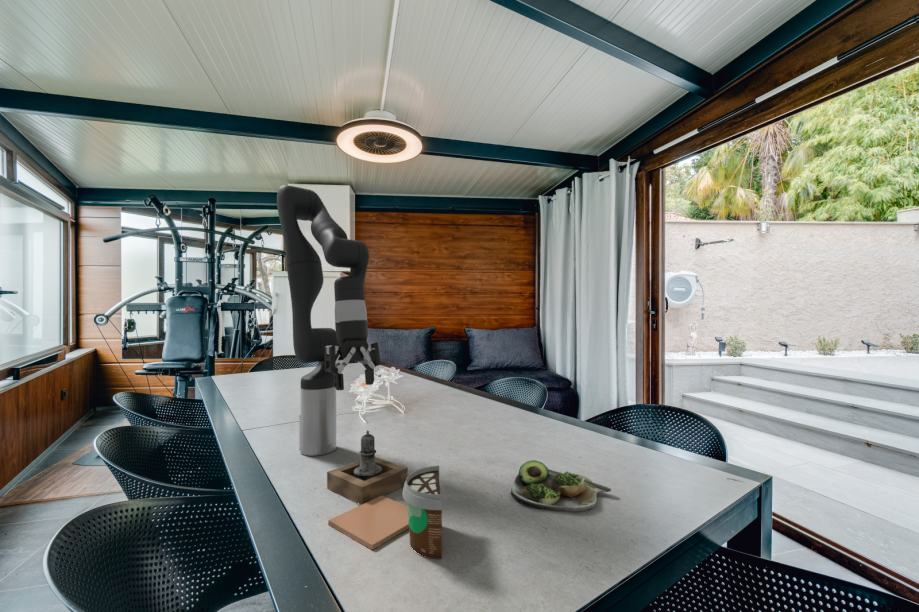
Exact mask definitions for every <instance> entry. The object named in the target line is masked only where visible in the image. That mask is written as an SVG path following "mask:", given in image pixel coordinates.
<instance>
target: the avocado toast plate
mask: <svg viewBox="0 0 919 612" xmlns="http://www.w3.org/2000/svg"><path fill="white" fill-rule="evenodd" d="M611 490H612V489H611V488H610V487H608V486H604V485H602V484H599V483H595V482H593V481H592V480H591V478H588V477H586V476H585V475H583V474H579V473H576V472H575V473H572V472H569V471H565V472H564V471H563V472H562V471H561V472H560V471H557V470H552V469H549V468H548V467H547V465H545V463H543V462H541V461H539V460H534V459H533V460H527V461H525V462H524V463H523V464H521V466H520V467H519V471H518V473H517V475H516V477H515V478H514V482H513V484H512V486H511V490H510V494H511V496H512V497H513V498H514V500H515V501H517V503H519V504H521V505H523V506H525V507H529V508H533V509H538V510H547V511H557V512H584V511H587V510H589V509H591V508H593V507H595V506H596V505H597V500H598V497H597V496H598V494H599V493H609V492H611ZM565 499H566V500H577V501H578V502H579V504H578V505H577V504H576V505H571V506H570V505H569V506H563V505H561V506H559V505H555V504H556V503H558V501H561V500H565Z"/></svg>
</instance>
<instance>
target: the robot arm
mask: <svg viewBox="0 0 919 612" xmlns="http://www.w3.org/2000/svg"><path fill="white" fill-rule="evenodd" d="M276 206H277V212H278V219H279V222H280V227H281V231H282V232H281V233H282V237H283V243H284V251H285V261H286V263H285V264H286V271H287V273H286V274H287V279H288V285H289V293H290V301H291V311H292V314H291V315H292V342H293V343H292V344H293V350H294V355H295V357H296V359H297V361H298V362H299V363H302V364H309V363H311V364H312V363H317V365H316V367H315V368H314V369H313V370H311V371H310V372H308V373H307V374H304V375H303V376H302V377H301V378H300V414H299V450H300V453H301V454H302V455H303V456H320V455H321V456H322V455H326V454H327V455H328V454H330V453H333V452H334V451H336V449H337V391H344V389H345V385H344V381H345V379H344V373H343V372H344V369H345V368H346V367H347V366H348V364H349V363H354V362H358V363H360V364H361V365H362V366H363V367H364V368H365V369H364V379H365V385H367V386H371V385H374V382H375V368H376V367H378V366H380V365H381V358H380V349H379V343H378V342H377V341H373V342H372V341H371V342H368V337H369V331H368V315H367V306H366V301H365V298H366V297H365V281H366V280H365V279H366V273H367V269H368V265H369V260H370V252H369V248H368V246H367V244H366V243H365V242H364V241H361V240H358V239H357V240H355V239H349V238H348V235H347V232H346V231H345V230H344V229H343V228H342V227H341V226H340V225H339V224H338V223H337V221H336V220H334V219H333V217H331V215H330V213H329V212H328V211H329V210H328V209H327V207H326V206H325V204H324V202H323V201H322V199H321V198H320V196H319V195H318V194H317V192H316V191H314V190H312V189H308V188H303V187H300V186H293V185H287V184H285V185H281V186H280V187H278V190H277V194H276ZM298 220H299V221H305V222H307V221H310V222H311V224H310V232H311V234H312V236H313V238H314V239H315V241H316V242H317V243H318V244H319V245H320V246H321V249H322V252H323V256H324V260H325V262H326V263H327V264H328V265H330V266H332V267H335V268H341V269H342V268H343V269H344V268H345V269H350V271H349V275H346V276H342V277H338V278H336V279H335V280H334V284H333V285H334V286H333V287H334V291H333V292H334V324H335V325H334V328H335V329H334V328H331V327H316V328H315V327H312V321H311V320H312V317H311V316H312V309H313V307H314V304H315V302H316V300H317V298H318V296H319V294H320V293H321V290H322V288H323V285H324V274H323V266H322V260H321V257H320V255H319V253H318V252H317V251H316V249H315V248H314V246H313V245H312V244H311V243H310V241H308V239H307V238H306V236H305V235H304V233H303V232H302V230H301V228H300V226H299V222H298ZM368 353H369V354H368Z"/></svg>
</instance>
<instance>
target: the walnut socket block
mask: <svg viewBox="0 0 919 612" xmlns="http://www.w3.org/2000/svg"><path fill="white" fill-rule="evenodd" d="M360 463H361V459H360V460H356V461H354V462H352V463H349V464H345V465H343V466H341V467H338V468H334V469H331V470H328V471H326V489H328V490H330V491H332V492H334V493H335V494H337V495H340V496H341V495H342V496H341V497H344V498H345V499H348V500H350V501H352V502H354V503H356V504H358V503H359V504H358V505H359V506H360V505H362V504H364V503H367V502H369V501H371V500H373V499H375V498H377V497H379V496H385V495H389V494H390V493H392V492H394V490H395V491H397V490H399V489H401V488H404V484H405V481H406V479H407V477H408V476H409V475H408V474H409V472H408V471H409V469H408V467H407V466H406V467H405V466H402V465H400V464H397V463H394V462H391V461H388V460H386V459H383V458H379V457H377V456H375V463H376V465H378V466H380V467H381V468H382V470H381V472H380V475H378V476H376V477H373V478H371V479H368V480H366V481H363V480H360V479H358V478H356V477H355V474H354V470H355V469H356V468H357V467H359V466H360Z"/></svg>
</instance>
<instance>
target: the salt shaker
mask: <svg viewBox="0 0 919 612" xmlns="http://www.w3.org/2000/svg"><path fill="white" fill-rule="evenodd" d="M365 433H366V434H364V435H362V436H361V437H360V451H359V452H358V453H359V455H360V460H361V463H360V466H359V467H357V468H356V469H355V470H354V474H355V477H356V478H358V479H360V480H363V481H366V480H368V479H371V478H373V477H376V476H378V475H380V472H381V470H382V468H381V467H380V466H378V465H376V463H375V457H376V453H377V450H376V449H375V441H376V440H375V439H376V438H375V437H374V435H373V434H371V433H370V431H369V430H366V432H365Z"/></svg>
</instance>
